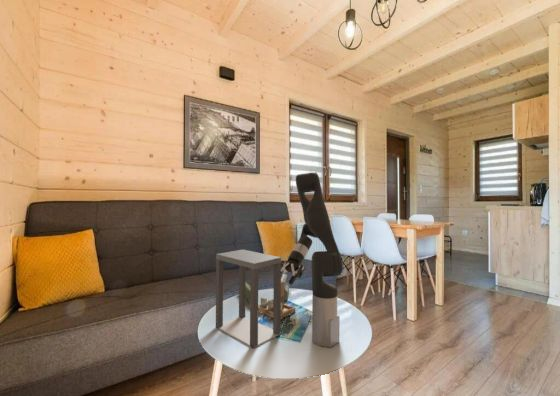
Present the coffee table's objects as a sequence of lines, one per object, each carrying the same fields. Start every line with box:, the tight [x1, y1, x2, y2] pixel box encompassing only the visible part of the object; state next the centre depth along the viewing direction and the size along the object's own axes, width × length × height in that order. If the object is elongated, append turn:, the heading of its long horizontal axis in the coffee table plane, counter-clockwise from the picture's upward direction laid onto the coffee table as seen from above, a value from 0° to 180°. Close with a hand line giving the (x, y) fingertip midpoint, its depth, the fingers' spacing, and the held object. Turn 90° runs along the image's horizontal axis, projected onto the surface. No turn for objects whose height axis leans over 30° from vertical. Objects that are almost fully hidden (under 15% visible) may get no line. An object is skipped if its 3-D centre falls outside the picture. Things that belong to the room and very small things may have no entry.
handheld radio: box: [245, 282, 250, 303], centre depth 142 cm, size 7×3×25 cm
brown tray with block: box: [258, 281, 296, 319], centre depth 128 cm, size 14×11×14 cm
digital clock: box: [281, 273, 290, 301], centre depth 147 cm, size 16×9×11 cm, turn 161°
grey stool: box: [215, 249, 282, 349], centre depth 110 cm, size 23×14×30 cm, turn 48°
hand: (283, 281), depth 132 cm, fingers open, 8 cm apart
